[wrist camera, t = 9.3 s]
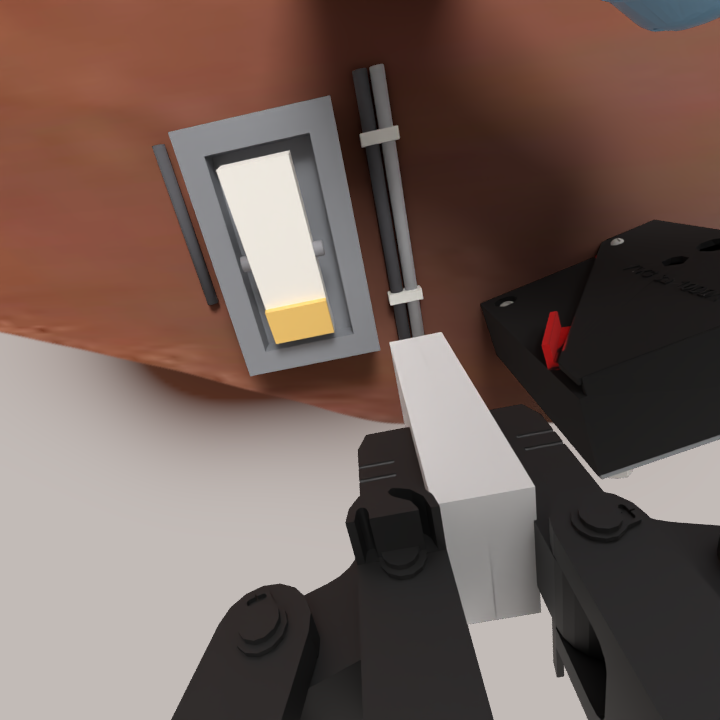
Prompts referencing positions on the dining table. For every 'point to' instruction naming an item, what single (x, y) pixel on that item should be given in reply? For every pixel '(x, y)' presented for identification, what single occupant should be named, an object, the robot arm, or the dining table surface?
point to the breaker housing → (325, 217)
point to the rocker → (278, 245)
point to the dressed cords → (371, 144)
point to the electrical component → (622, 346)
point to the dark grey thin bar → (185, 222)
